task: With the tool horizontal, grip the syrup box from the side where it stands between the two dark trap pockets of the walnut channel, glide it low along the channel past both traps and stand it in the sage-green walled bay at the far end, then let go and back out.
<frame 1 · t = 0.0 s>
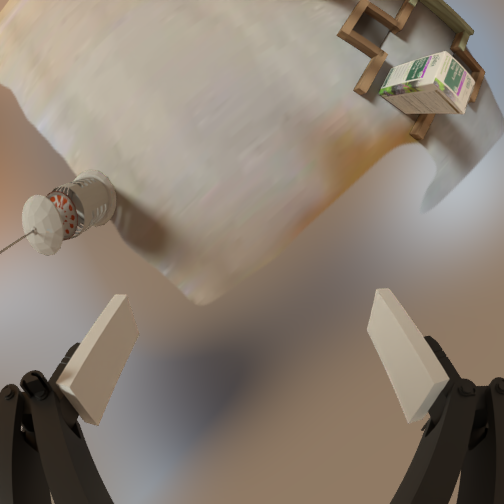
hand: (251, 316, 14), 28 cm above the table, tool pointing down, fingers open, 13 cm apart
french press: (89, 200, 40), on the table
syrup box: (398, 91, 32), on the table
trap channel: (416, 57, 29), on the table
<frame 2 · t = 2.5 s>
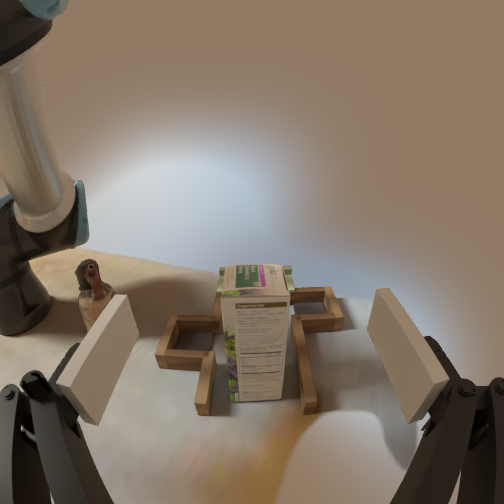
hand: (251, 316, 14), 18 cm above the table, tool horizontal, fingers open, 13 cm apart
figurine: (108, 328, 39), on the table
syrup box: (256, 384, 30), on the table
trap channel: (256, 338, 37), on the table
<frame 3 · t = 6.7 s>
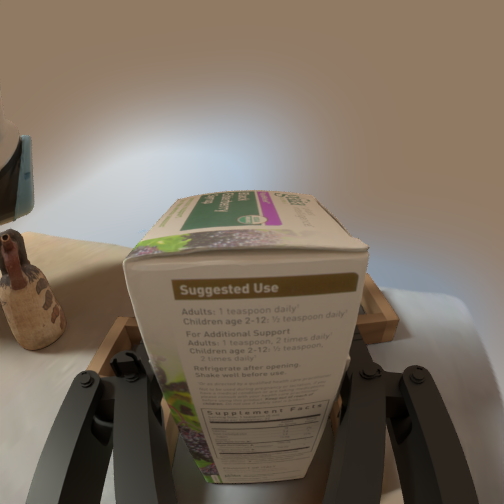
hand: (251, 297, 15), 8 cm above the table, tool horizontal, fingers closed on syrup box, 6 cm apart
figurine: (42, 332, 23), on the table
syrup box: (256, 447, 14), on the table, touching gripper
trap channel: (255, 359, 21), on the table
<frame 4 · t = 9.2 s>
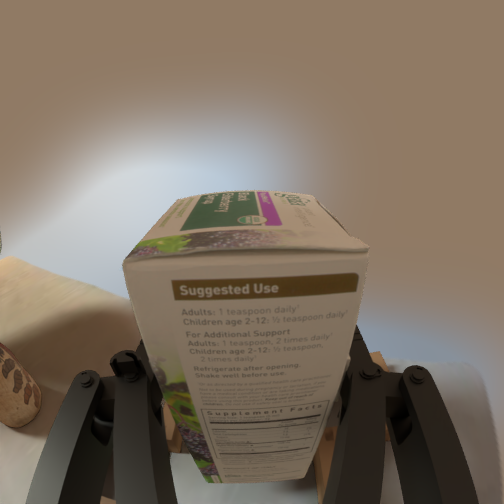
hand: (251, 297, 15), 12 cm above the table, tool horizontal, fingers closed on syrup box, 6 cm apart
figurine: (19, 405, 17), on the table
syrup box: (256, 447, 14), point 4 cm above the table, touching gripper
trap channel: (245, 468, 15), on the table
when the fingers open (8 cm above the table, at t = 12.0 s): syrup box stays where it is, on the table.
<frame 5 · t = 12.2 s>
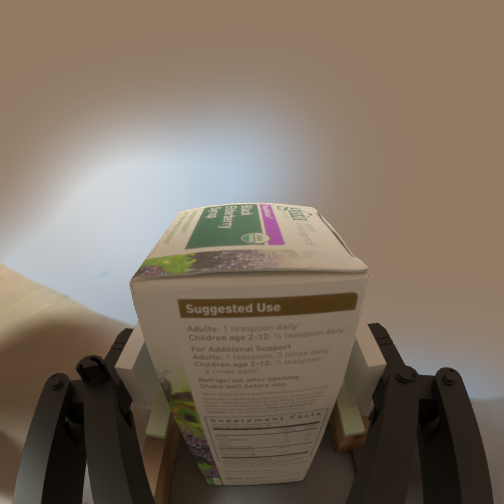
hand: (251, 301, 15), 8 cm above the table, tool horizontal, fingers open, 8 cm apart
syrup box: (256, 450, 14), on the table
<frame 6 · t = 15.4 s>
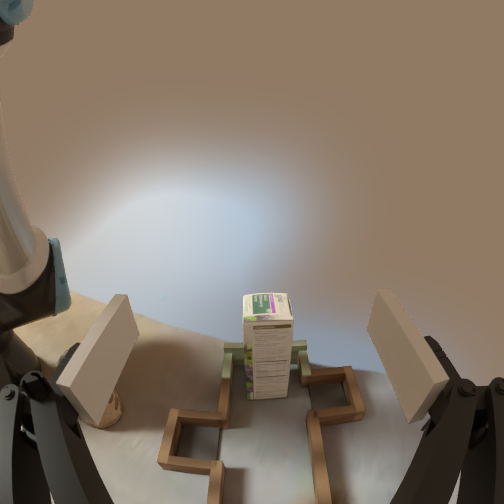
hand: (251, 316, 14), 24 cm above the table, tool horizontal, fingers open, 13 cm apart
figurine: (103, 411, 31), on the table
syrup box: (266, 385, 37), on the table
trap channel: (267, 435, 29), on the table
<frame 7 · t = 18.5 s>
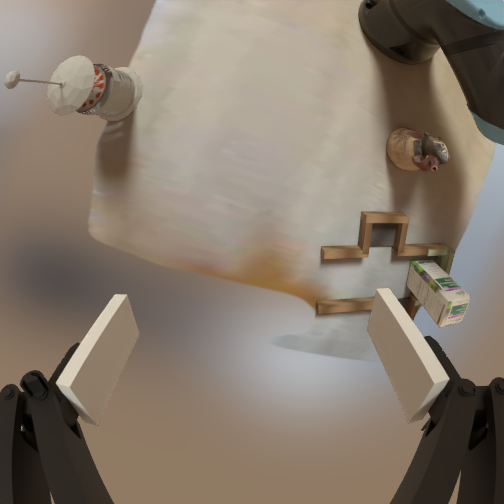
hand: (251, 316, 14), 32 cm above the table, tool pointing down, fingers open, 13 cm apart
french press: (113, 91, 36), on the table
figurine: (402, 148, 39), on the table
syrup box: (418, 272, 49), on the table
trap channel: (382, 274, 49), on the table
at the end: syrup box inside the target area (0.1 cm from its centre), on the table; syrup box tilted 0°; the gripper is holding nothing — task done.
